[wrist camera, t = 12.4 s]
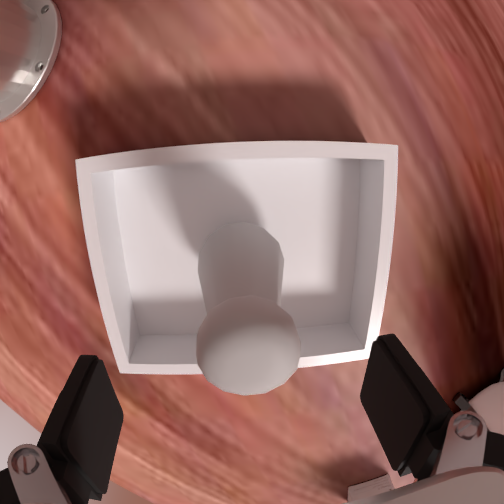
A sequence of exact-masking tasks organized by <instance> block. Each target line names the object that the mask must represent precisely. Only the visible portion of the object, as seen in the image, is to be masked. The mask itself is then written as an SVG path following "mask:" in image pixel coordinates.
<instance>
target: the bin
mask: <svg viewBox="0 0 504 504" xmlns="http://www.w3.org/2000/svg"><path fill="white" fill-rule="evenodd" d="M75 161H76V172H77V182H78V190H79V198H80V206H81V213H82V219H83V226H84V232H85V238H86V243H87V249H88V254H89V259H90V264H91V269H92V273H93V278H94V282H95V287H96V291H97V295H98V299H99V303H100V307H101V311H102V315H103V319H104V322H105V326H106V329H107V333H108V336H109V340H110V343H111V346H112V350H113V353H114V356H115V359H116V362H117V365H118V368H119V371H120V373H132V374H203V373H202V371H201V370H200V368H199V366H198V364H197V358H196V344H197V334H198V329H199V327H200V325H201V324H202V322H203V320H204V319H205V317H206V316H207V312H206V308H205V303H204V299H203V294H202V289H201V285H200V280H199V275H198V258H199V252H200V250H201V248H202V247H203V245H204V243H205V241H206V240H207V238H208V236H209V235H210V234H212V233H213V232H215V231H216V230H218V229H219V228H221V227H223V226H224V225H226V224H233V223H240V222H247V223H250V224H253V225H256V226H259V227H262V228H264V229H265V230H266V231H267V232H268V233H269V234H270V235H272V236H273V237H274V238H275V239H276V240H277V241H278V242H279V244H280V248H281V251H282V254H283V257H284V269H283V280H282V291H281V308H282V309H283V310H284V311H286V312H287V313H288V314H289V315H290V316H291V317H292V319H293V321H294V323H295V326H296V329H297V332H298V335H299V338H300V341H301V354H300V359H299V363H298V368H301V367H310V366H319V365H327V364H334V363H342V362H348V361H355V360H362V359H368V358H369V356H370V351H371V347H372V343H373V341H376V339H377V337H378V336H379V331H380V326H381V321H382V315H383V309H384V303H385V297H386V290H387V284H388V277H389V269H390V261H391V253H392V243H393V233H394V222H395V209H396V194H397V172H398V145H390V144H377V143H361V142H339V141H247V142H225V143H208V144H194V145H182V146H171V147H161V148H151V149H143V150H134V151H127V152H119V153H112V154H105V155H99V156H93V157H87V158H81V159H76V160H75Z"/></svg>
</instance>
